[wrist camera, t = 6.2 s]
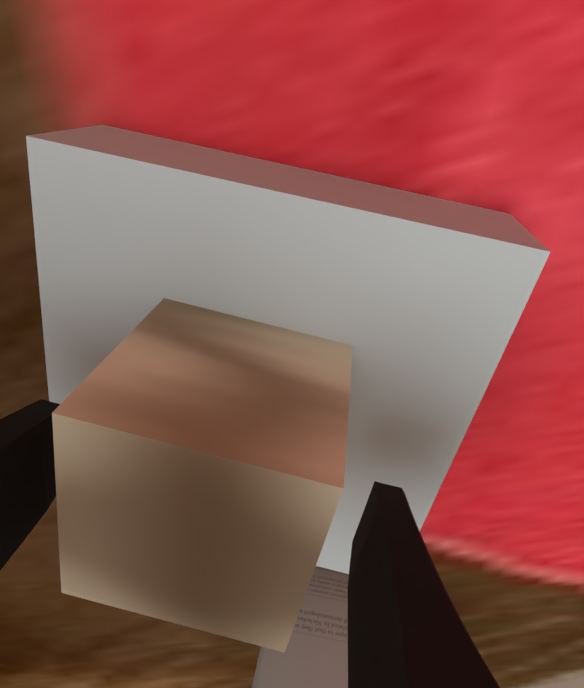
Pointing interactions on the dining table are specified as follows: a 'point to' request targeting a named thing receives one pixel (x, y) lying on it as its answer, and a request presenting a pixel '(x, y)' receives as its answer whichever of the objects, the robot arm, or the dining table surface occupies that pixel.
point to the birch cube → (203, 471)
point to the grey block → (286, 285)
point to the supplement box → (312, 640)
